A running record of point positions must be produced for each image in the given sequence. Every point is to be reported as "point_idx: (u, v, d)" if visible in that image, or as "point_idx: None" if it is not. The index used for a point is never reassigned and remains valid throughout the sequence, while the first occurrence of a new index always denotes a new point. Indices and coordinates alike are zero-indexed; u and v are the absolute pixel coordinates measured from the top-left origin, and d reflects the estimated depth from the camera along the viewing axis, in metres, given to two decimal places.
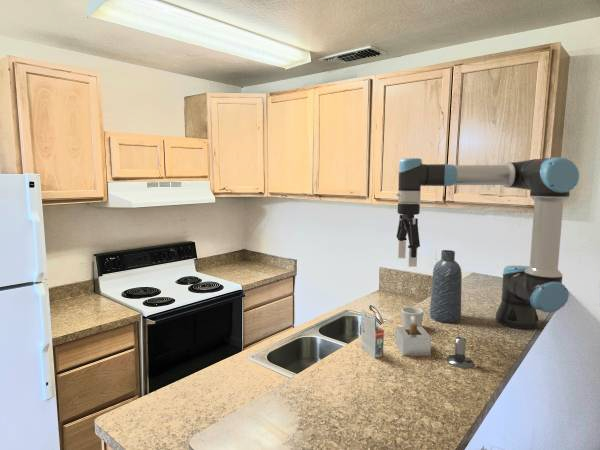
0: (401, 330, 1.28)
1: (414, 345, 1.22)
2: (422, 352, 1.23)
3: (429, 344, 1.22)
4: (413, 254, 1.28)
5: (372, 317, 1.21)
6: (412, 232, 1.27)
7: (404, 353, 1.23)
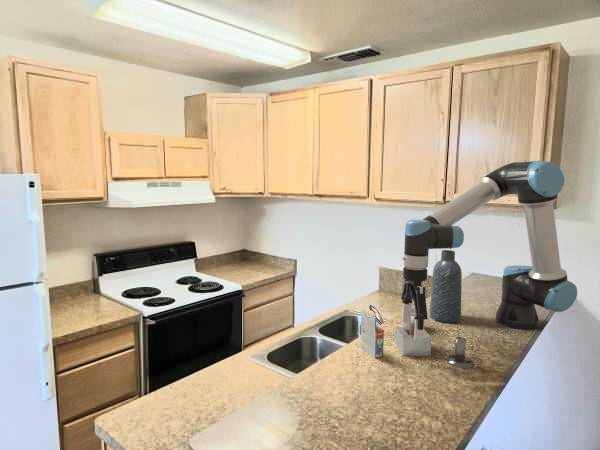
0: (401, 330, 1.28)
1: (414, 345, 1.22)
2: (422, 352, 1.23)
3: (429, 344, 1.22)
4: (420, 326, 1.18)
5: (372, 317, 1.21)
6: (419, 303, 1.17)
7: (404, 353, 1.23)
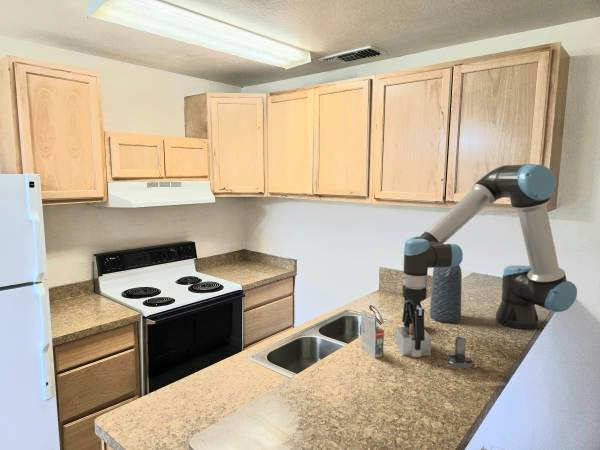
0: (401, 330, 1.28)
1: None
2: (422, 352, 1.23)
3: (429, 344, 1.22)
4: (417, 347, 1.21)
5: (372, 317, 1.21)
6: (417, 325, 1.19)
7: (404, 353, 1.23)
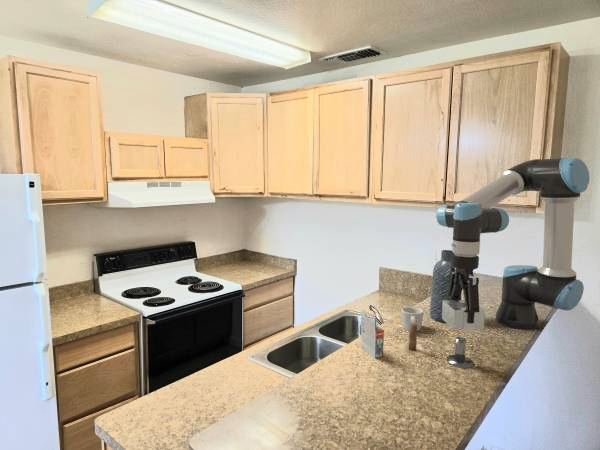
0: (449, 303, 1.18)
1: None
2: (475, 326, 1.12)
3: (482, 317, 1.12)
4: (470, 320, 1.10)
5: (372, 317, 1.21)
6: (471, 295, 1.08)
7: (455, 327, 1.12)
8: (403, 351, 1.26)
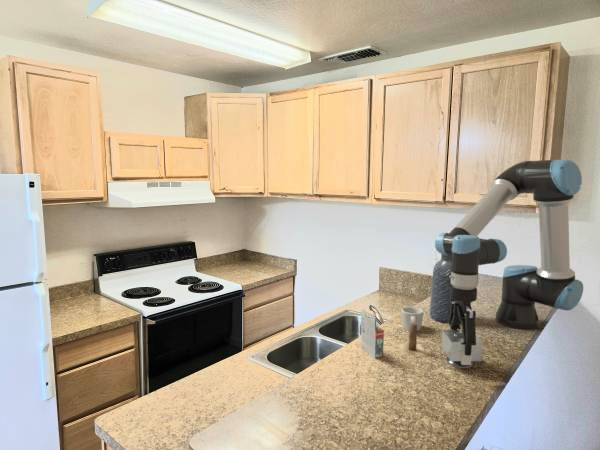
0: (448, 333, 1.19)
1: None
2: (472, 358, 1.14)
3: (480, 349, 1.13)
4: (467, 352, 1.11)
5: (372, 317, 1.21)
6: (468, 328, 1.10)
7: (452, 358, 1.14)
8: (403, 351, 1.26)
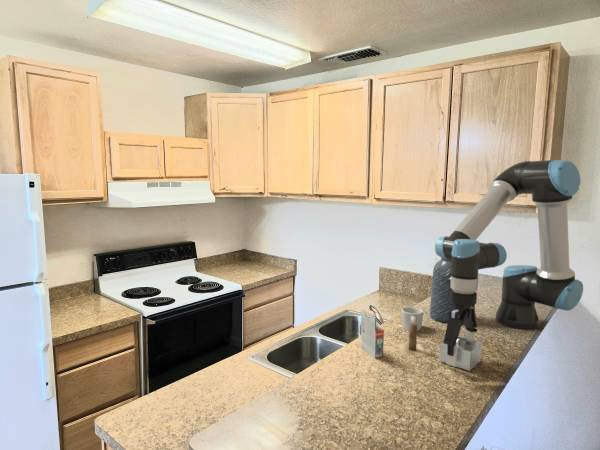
0: None
1: None
2: (460, 364, 1.14)
3: (468, 358, 1.12)
4: (448, 351, 1.12)
5: (372, 317, 1.21)
6: (448, 327, 1.12)
7: (441, 359, 1.18)
8: (403, 351, 1.26)
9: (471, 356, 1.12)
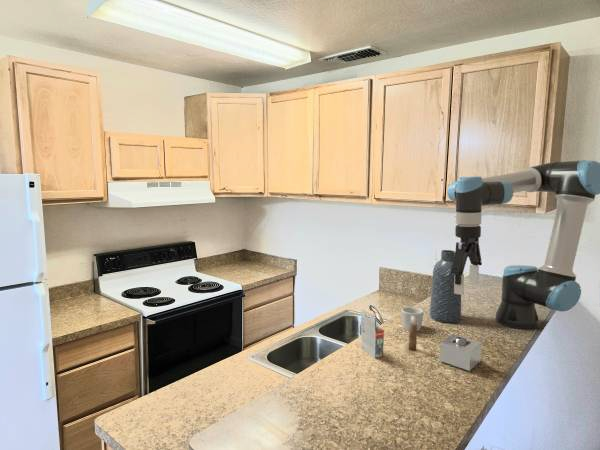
0: (451, 337, 1.21)
1: (451, 353, 1.15)
2: (460, 364, 1.14)
3: (468, 358, 1.12)
4: (456, 281, 1.19)
5: (372, 317, 1.21)
6: (455, 257, 1.19)
7: (441, 359, 1.18)
8: (403, 351, 1.26)
9: (471, 356, 1.12)
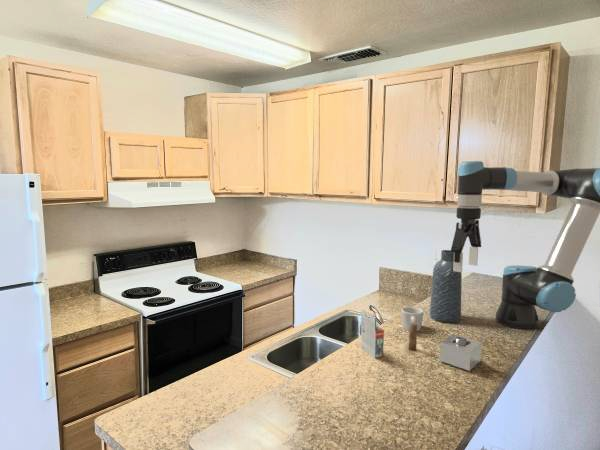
0: (451, 337, 1.21)
1: (451, 353, 1.15)
2: (460, 364, 1.14)
3: (468, 358, 1.12)
4: (455, 259, 1.26)
5: (372, 317, 1.21)
6: (455, 236, 1.26)
7: (441, 359, 1.18)
8: (403, 351, 1.26)
9: (471, 356, 1.12)
